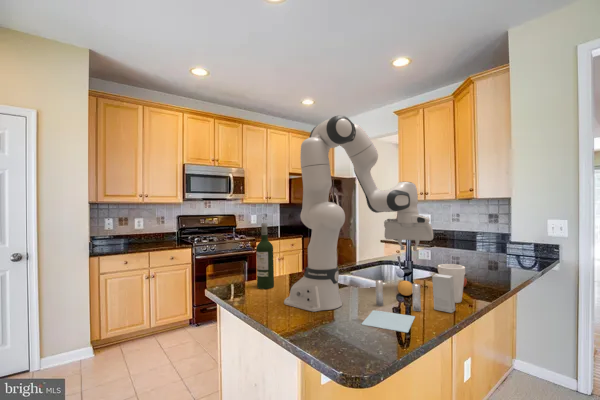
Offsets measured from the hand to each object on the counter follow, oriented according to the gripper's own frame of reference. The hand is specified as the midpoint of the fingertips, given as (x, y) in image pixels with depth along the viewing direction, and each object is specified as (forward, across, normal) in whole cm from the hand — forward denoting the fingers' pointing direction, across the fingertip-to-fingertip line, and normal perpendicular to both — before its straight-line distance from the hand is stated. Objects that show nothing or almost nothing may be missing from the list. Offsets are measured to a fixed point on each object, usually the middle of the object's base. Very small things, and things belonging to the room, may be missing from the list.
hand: (408, 250), depth 133 cm
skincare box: (+17, +15, -22) cm, 32 cm away
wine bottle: (+17, -61, -23) cm, 67 cm away
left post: (+17, -6, -26) cm, 32 cm away
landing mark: (+17, 0, -40) cm, 43 cm away
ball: (+14, 0, -10) cm, 17 cm away
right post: (+17, +7, -26) cm, 32 cm away
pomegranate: (+17, +18, +11) cm, 27 cm away
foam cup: (+17, +17, -9) cm, 26 cm away
